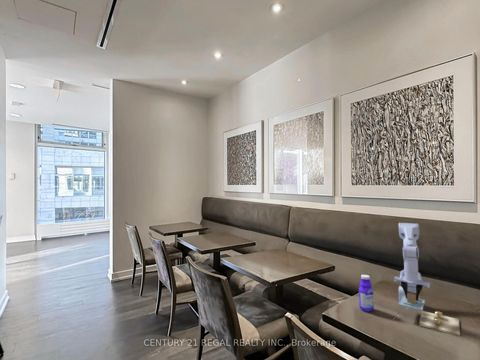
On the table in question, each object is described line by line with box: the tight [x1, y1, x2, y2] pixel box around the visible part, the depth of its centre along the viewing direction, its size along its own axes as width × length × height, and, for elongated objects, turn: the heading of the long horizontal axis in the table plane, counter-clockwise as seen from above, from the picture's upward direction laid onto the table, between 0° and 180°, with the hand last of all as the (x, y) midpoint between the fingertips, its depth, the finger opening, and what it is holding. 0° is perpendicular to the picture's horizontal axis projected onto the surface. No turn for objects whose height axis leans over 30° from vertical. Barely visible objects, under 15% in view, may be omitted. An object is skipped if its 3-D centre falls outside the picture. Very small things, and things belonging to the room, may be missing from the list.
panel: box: [398, 291, 426, 312], centre depth 129 cm, size 9×13×5 cm
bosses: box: [434, 310, 443, 326], centre depth 124 cm, size 3×11×3 cm, turn 142°
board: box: [418, 310, 461, 336], centre depth 123 cm, size 14×16×1 cm
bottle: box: [358, 274, 375, 312], centre depth 138 cm, size 7×6×17 cm
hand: (412, 298), depth 129 cm, fingers closed on panel, 4 cm apart
